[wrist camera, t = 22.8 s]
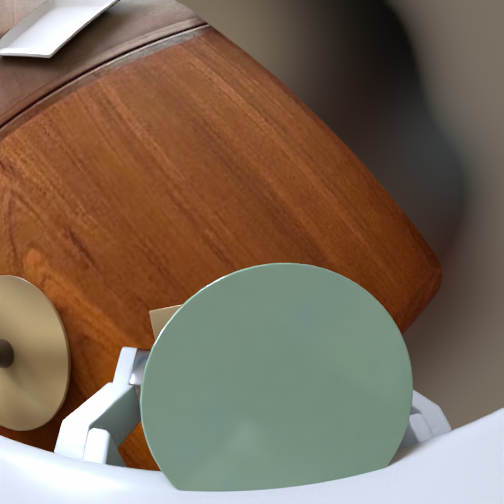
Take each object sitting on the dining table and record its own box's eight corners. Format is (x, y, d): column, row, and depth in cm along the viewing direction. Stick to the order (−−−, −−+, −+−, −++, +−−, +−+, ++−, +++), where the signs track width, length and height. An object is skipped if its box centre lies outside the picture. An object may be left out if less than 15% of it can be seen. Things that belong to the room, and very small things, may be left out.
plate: (53, 66, 31) (49, 56, 29) (-13, 62, 30) (-16, 54, 28) (127, 2, 37) (126, -7, 35) (55, 2, 36) (53, -6, 34)
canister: (298, 406, 16) (427, 463, 5) (195, 433, 14) (190, 550, 4) (272, 307, 17) (376, 239, 7) (168, 330, 16) (111, 293, 6)
